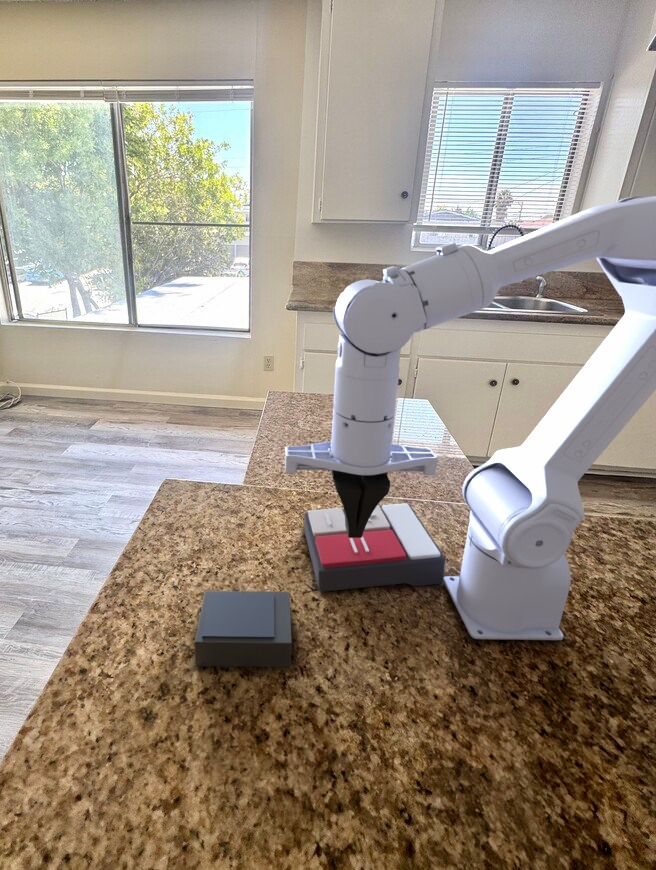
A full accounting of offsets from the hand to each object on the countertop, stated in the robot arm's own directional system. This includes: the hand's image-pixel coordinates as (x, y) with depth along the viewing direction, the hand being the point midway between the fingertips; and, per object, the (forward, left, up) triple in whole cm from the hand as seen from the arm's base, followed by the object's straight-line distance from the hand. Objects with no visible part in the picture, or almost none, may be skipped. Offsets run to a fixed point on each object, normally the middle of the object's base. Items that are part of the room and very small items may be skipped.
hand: (353, 531), depth 43 cm
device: (+6, +4, -8) cm, 11 cm away
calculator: (-4, -8, -10) cm, 13 cm away
